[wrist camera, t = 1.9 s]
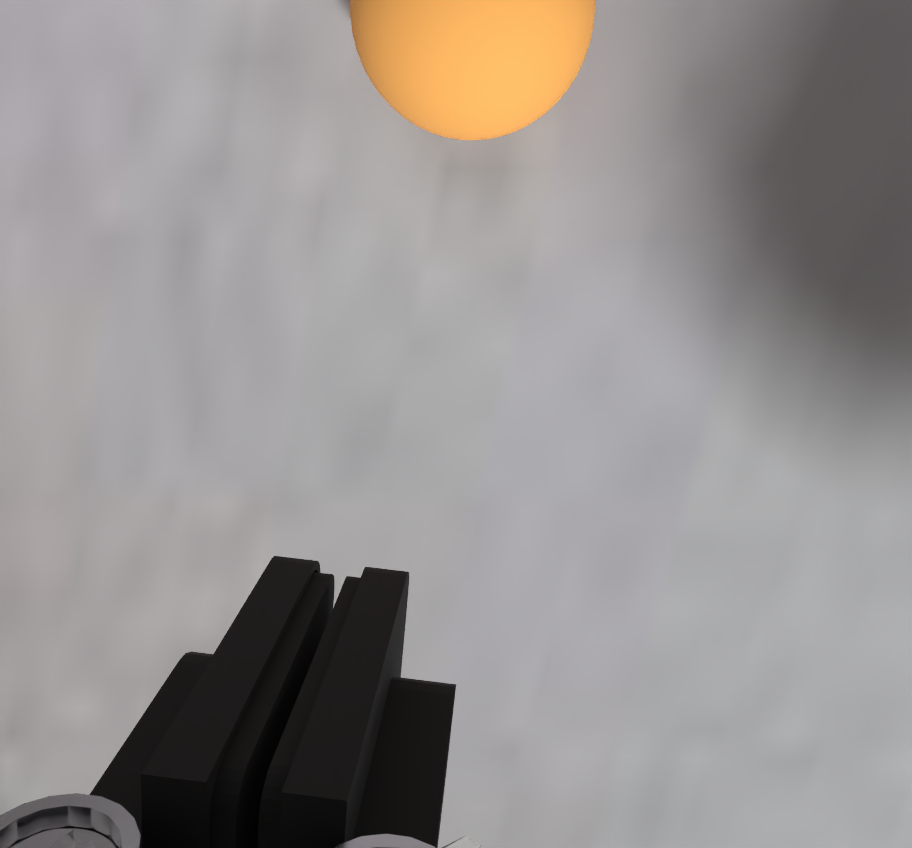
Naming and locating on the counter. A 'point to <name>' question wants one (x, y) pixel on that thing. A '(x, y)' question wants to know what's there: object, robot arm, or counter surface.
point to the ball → (472, 59)
